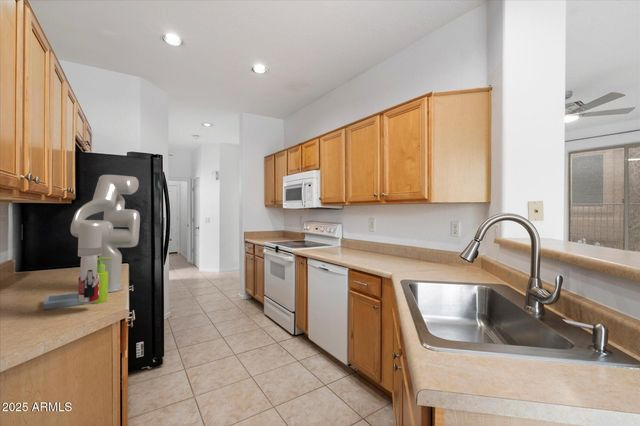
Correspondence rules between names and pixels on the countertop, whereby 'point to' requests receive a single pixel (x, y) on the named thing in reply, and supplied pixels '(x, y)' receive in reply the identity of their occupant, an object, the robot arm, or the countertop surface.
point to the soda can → (81, 291)
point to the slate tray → (61, 301)
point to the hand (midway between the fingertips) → (88, 294)
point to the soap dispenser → (102, 281)
